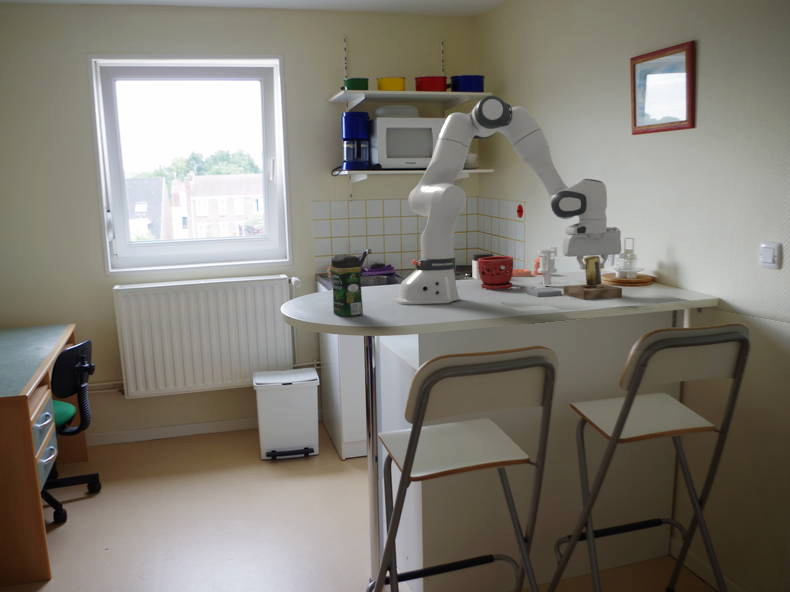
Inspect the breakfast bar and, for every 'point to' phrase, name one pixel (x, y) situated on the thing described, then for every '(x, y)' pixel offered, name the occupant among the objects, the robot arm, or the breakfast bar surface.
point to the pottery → (526, 272)
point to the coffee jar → (347, 286)
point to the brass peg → (593, 270)
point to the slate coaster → (544, 292)
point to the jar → (475, 263)
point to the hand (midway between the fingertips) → (591, 268)
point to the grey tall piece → (547, 264)
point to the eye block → (592, 291)
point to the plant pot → (496, 272)
